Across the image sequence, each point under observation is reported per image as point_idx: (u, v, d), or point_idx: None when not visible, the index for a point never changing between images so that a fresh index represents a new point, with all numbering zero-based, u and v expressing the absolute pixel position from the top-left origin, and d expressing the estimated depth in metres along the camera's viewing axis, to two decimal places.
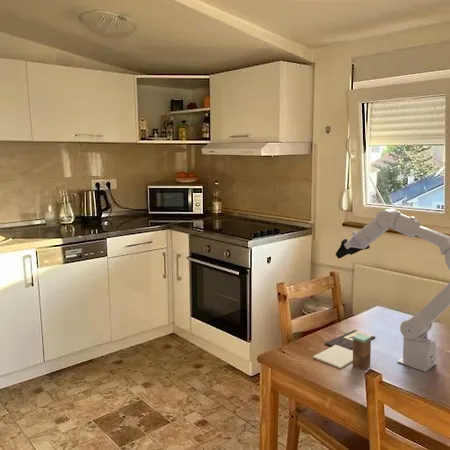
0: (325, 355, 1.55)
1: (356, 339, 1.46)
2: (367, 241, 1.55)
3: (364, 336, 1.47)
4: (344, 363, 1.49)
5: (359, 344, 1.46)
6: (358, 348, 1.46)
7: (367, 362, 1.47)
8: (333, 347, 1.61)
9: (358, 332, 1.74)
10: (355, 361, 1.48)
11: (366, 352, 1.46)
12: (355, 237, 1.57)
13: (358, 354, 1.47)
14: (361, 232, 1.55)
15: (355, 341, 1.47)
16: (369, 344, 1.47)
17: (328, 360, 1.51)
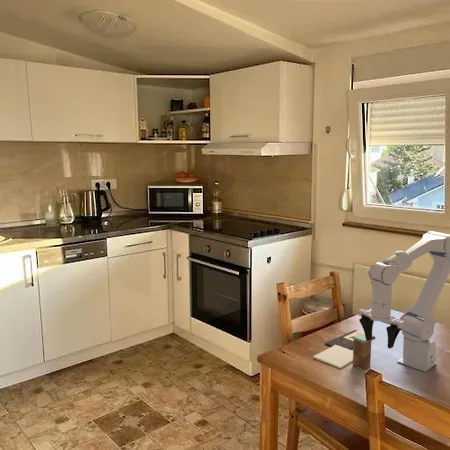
0: (325, 355, 1.55)
1: (357, 339, 1.46)
2: None
3: None
4: (344, 363, 1.49)
5: (360, 344, 1.46)
6: (358, 348, 1.46)
7: (367, 362, 1.47)
8: (333, 347, 1.61)
9: (358, 332, 1.74)
10: (355, 361, 1.48)
11: (367, 352, 1.46)
12: (385, 317, 1.38)
13: (358, 354, 1.46)
14: (385, 307, 1.37)
15: (356, 341, 1.47)
16: (370, 344, 1.47)
17: (328, 360, 1.51)
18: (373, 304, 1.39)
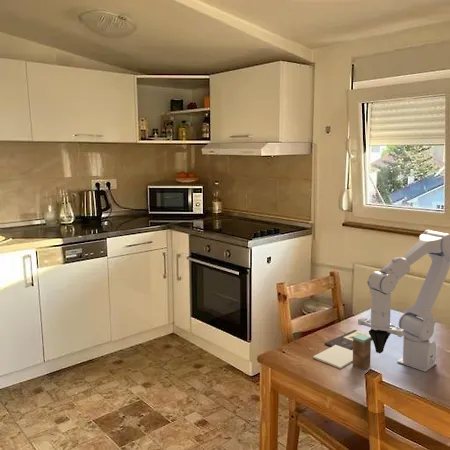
0: (325, 355, 1.55)
1: (356, 339, 1.46)
2: None
3: (364, 336, 1.47)
4: (344, 363, 1.49)
5: (359, 344, 1.46)
6: (358, 348, 1.46)
7: (367, 362, 1.47)
8: (333, 347, 1.61)
9: (358, 332, 1.74)
10: (355, 361, 1.48)
11: (366, 352, 1.46)
12: (385, 325, 1.39)
13: (358, 354, 1.47)
14: (385, 316, 1.38)
15: (355, 341, 1.47)
16: (369, 344, 1.47)
17: (328, 360, 1.51)
18: (373, 313, 1.40)
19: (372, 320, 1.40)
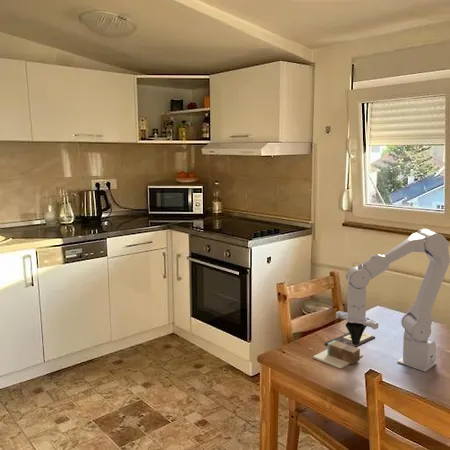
0: (325, 355, 1.55)
1: (328, 351, 1.55)
2: None
3: None
4: (344, 363, 1.49)
5: (331, 349, 1.54)
6: (335, 352, 1.53)
7: (351, 349, 1.51)
8: None
9: None
10: (348, 359, 1.50)
11: (341, 346, 1.53)
12: (360, 318, 1.45)
13: (340, 353, 1.52)
14: (360, 309, 1.44)
15: (330, 353, 1.55)
16: (338, 342, 1.56)
17: (328, 360, 1.51)
18: (349, 307, 1.46)
19: (348, 313, 1.47)
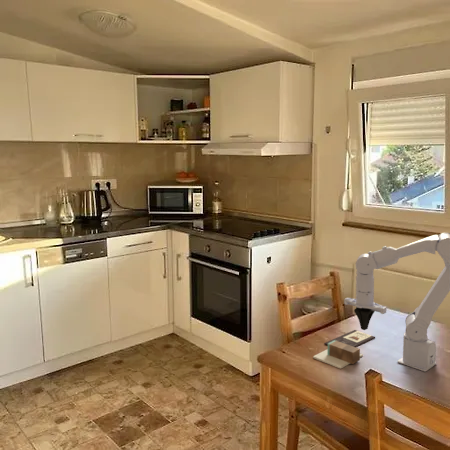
0: (325, 355, 1.55)
1: (328, 351, 1.55)
2: None
3: None
4: (344, 363, 1.49)
5: (331, 349, 1.54)
6: (335, 352, 1.53)
7: (351, 349, 1.51)
8: None
9: (358, 332, 1.74)
10: (348, 359, 1.50)
11: (341, 346, 1.53)
12: (369, 304, 1.49)
13: (340, 353, 1.52)
14: (369, 295, 1.49)
15: (330, 353, 1.55)
16: (338, 342, 1.56)
17: (328, 360, 1.51)
18: (357, 293, 1.51)
19: (357, 299, 1.51)
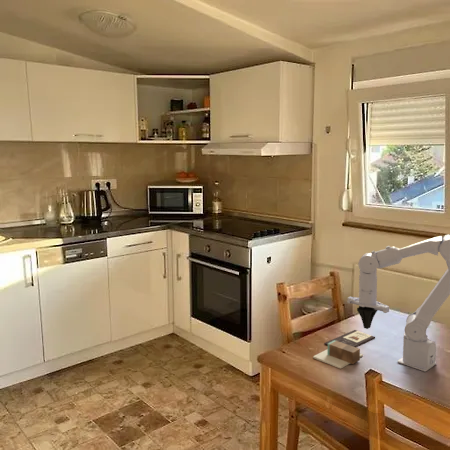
0: (325, 355, 1.55)
1: (328, 351, 1.55)
2: None
3: None
4: (344, 363, 1.49)
5: (331, 349, 1.54)
6: (335, 352, 1.53)
7: (351, 349, 1.51)
8: None
9: (358, 332, 1.74)
10: (348, 359, 1.50)
11: (341, 346, 1.53)
12: (371, 303, 1.50)
13: (340, 353, 1.52)
14: (372, 294, 1.50)
15: (330, 353, 1.55)
16: (338, 342, 1.56)
17: (328, 360, 1.51)
18: (360, 291, 1.51)
19: (360, 298, 1.52)
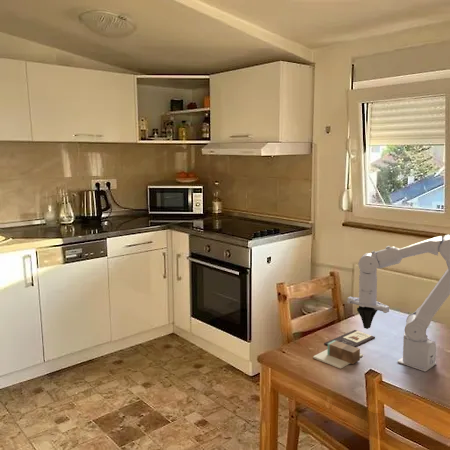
0: (325, 355, 1.55)
1: (328, 351, 1.55)
2: None
3: None
4: (344, 363, 1.49)
5: (331, 349, 1.54)
6: (335, 352, 1.53)
7: (351, 349, 1.51)
8: None
9: (358, 332, 1.74)
10: (348, 359, 1.50)
11: (341, 346, 1.53)
12: (371, 303, 1.50)
13: (340, 353, 1.52)
14: (372, 294, 1.50)
15: (330, 353, 1.55)
16: (338, 342, 1.56)
17: (328, 360, 1.51)
18: (360, 291, 1.51)
19: (360, 298, 1.52)
